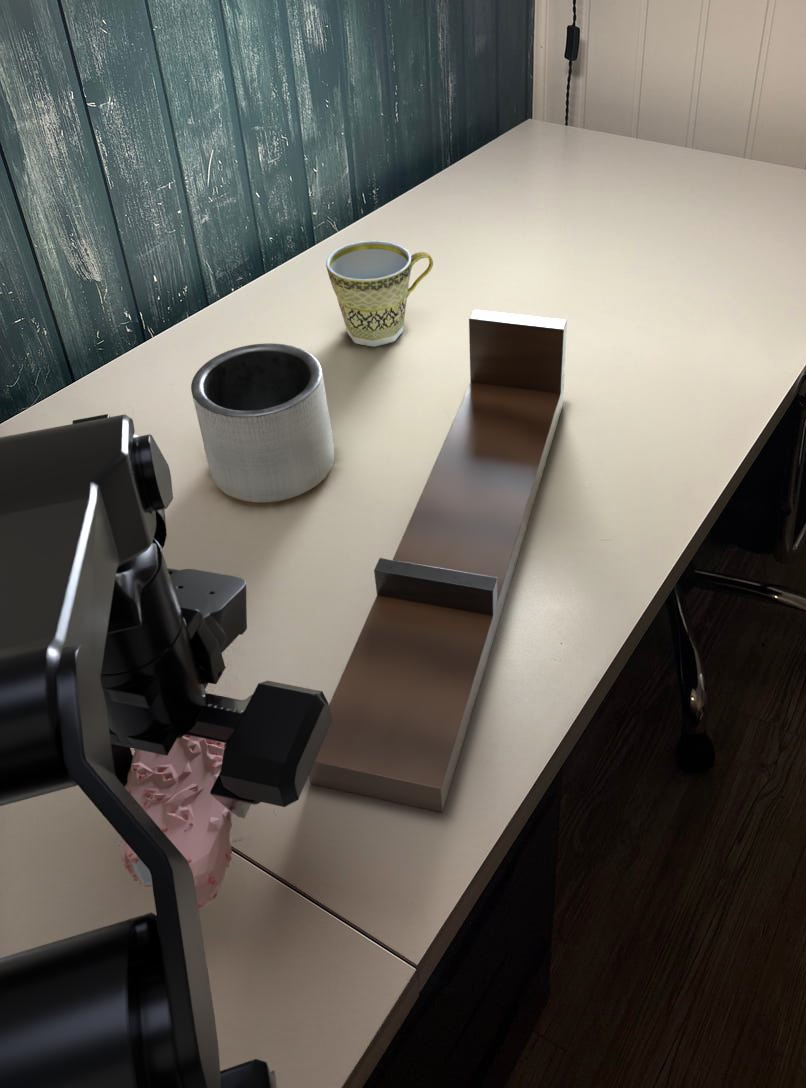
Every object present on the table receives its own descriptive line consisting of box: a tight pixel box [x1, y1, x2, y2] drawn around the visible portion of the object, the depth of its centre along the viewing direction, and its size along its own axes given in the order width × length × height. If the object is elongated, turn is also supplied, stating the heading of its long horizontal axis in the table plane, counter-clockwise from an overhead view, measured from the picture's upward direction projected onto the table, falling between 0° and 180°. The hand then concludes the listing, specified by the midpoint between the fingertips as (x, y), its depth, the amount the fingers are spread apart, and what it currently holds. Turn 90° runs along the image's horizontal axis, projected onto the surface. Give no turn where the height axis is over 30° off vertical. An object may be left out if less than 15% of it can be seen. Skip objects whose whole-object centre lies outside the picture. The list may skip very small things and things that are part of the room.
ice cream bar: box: [119, 735, 233, 910], centre depth 58 cm, size 6×4×15 cm
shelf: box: [308, 309, 568, 813], centre depth 83 cm, size 50×10×11 cm, turn 166°
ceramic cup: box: [325, 240, 434, 348], centre depth 115 cm, size 13×10×10 cm
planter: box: [190, 342, 335, 503], centre depth 94 cm, size 12×13×11 cm
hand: (188, 797), depth 58 cm, fingers closed on ice cream bar, 7 cm apart
